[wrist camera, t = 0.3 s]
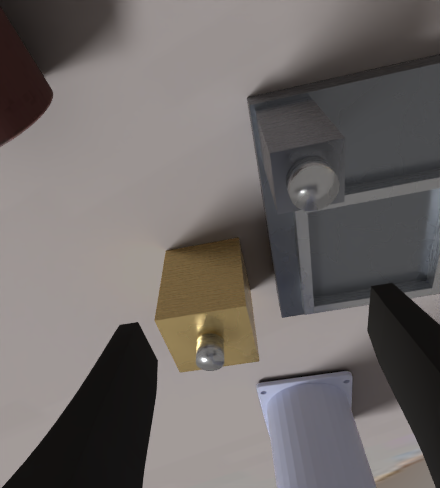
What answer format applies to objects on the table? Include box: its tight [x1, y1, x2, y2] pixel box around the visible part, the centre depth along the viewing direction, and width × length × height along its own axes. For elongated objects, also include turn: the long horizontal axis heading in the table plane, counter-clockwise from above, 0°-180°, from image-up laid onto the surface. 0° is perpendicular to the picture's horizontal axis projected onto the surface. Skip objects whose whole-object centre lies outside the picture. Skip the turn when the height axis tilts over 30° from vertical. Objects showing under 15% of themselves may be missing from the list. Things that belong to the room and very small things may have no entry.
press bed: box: [247, 54, 440, 318], centre depth 17 cm, size 14×10×7 cm
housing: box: [155, 238, 259, 372], centre depth 20 cm, size 4×4×7 cm
